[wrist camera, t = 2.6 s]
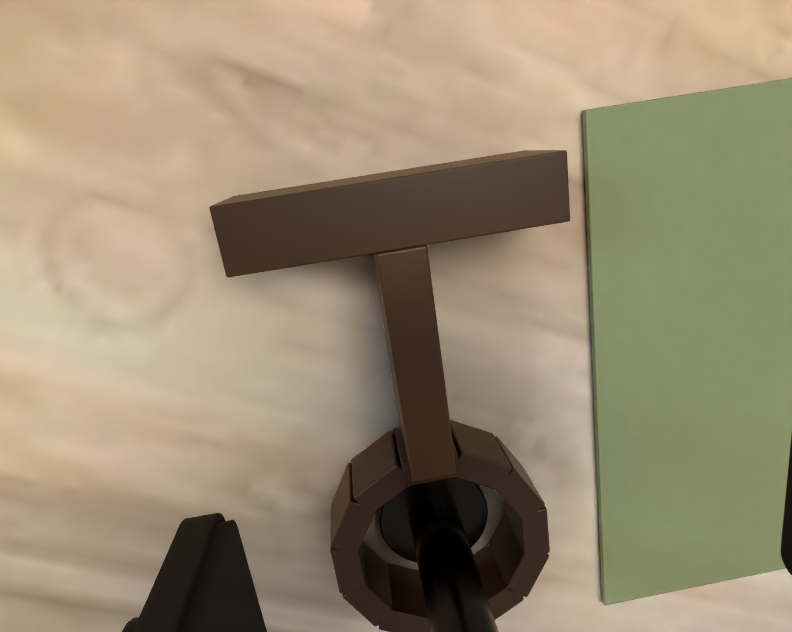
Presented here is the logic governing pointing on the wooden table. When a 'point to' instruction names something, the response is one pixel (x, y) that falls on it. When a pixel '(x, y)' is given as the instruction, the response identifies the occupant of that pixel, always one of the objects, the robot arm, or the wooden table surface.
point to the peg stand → (442, 549)
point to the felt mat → (690, 334)
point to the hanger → (411, 351)
